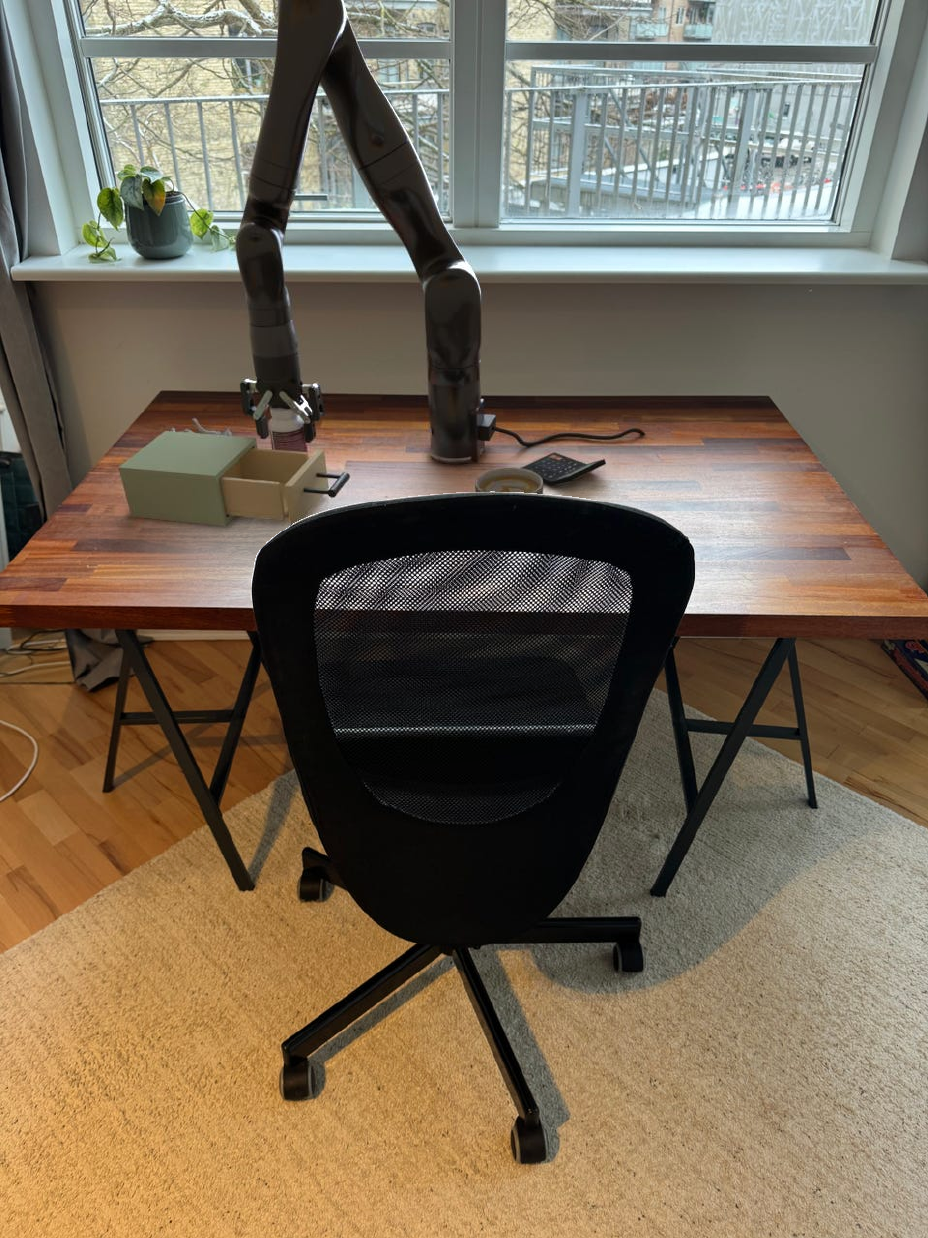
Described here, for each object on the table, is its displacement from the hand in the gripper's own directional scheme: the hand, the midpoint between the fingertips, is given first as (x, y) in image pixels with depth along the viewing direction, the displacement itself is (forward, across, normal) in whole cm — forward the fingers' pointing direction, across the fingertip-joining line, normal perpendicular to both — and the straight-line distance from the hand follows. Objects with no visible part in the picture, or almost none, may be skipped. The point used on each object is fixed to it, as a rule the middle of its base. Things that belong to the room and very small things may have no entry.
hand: (287, 439), depth 156 cm
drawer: (+4, +6, -16) cm, 18 cm away
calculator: (+5, +48, +5) cm, 49 cm away
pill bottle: (+5, 0, 0) cm, 5 cm away
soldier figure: (+5, -20, +5) cm, 21 cm away
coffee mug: (+5, +43, -18) cm, 47 cm away
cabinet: (+5, -10, -16) cm, 19 cm away
